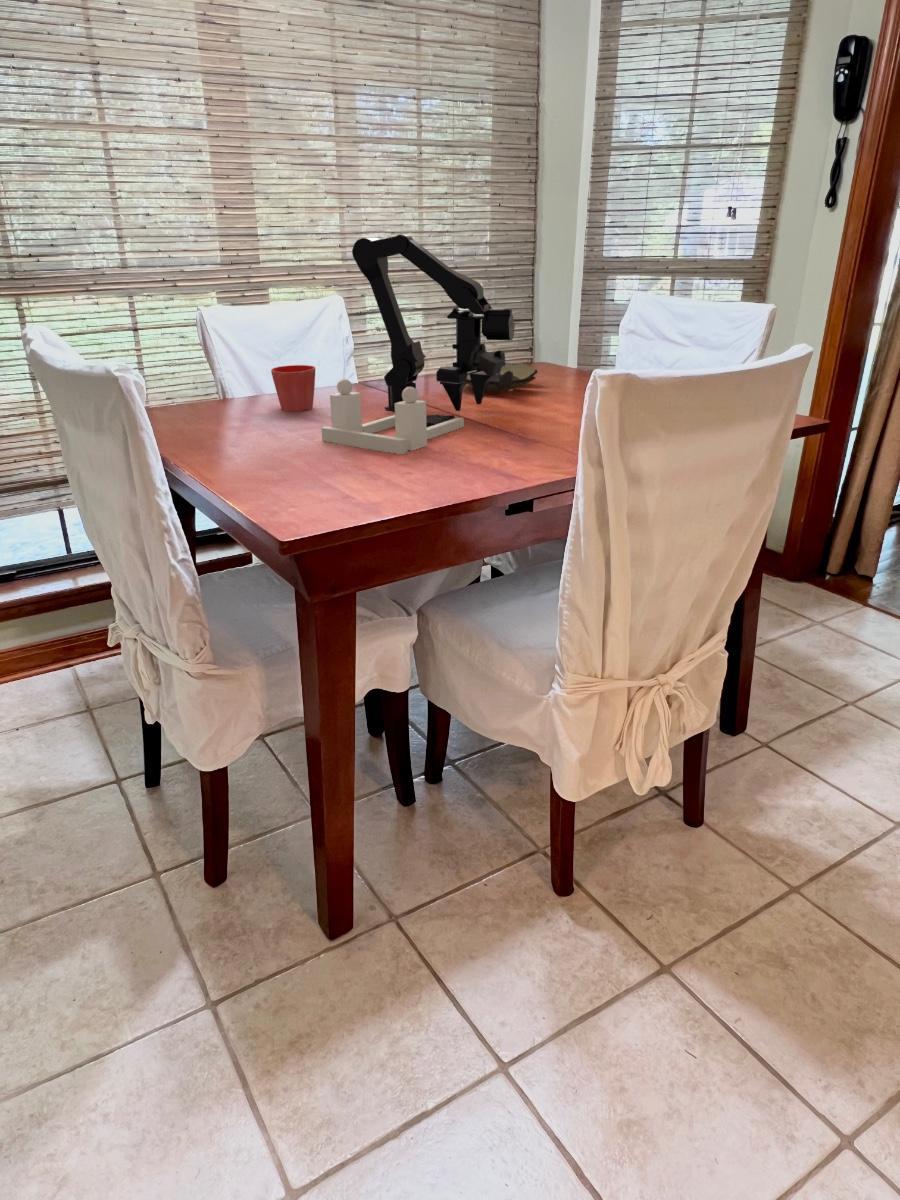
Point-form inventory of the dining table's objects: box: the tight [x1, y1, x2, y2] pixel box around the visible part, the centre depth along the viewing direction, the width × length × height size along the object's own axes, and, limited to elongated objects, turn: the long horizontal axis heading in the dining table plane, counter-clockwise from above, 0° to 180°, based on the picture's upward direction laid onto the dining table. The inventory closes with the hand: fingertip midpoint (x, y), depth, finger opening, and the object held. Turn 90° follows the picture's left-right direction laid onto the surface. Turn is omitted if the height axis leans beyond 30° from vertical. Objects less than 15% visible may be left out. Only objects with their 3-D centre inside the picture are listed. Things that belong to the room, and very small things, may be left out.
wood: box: [426, 414, 456, 427], centre depth 180 cm, size 22×7×3 cm, turn 160°
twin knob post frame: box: [321, 378, 465, 456], centre depth 172 cm, size 21×26×12 cm
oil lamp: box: [464, 362, 538, 392], centre depth 219 cm, size 22×30×8 cm
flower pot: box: [270, 364, 316, 412], centre depth 199 cm, size 11×11×10 cm
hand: (468, 407), depth 194 cm, fingers open, 9 cm apart
